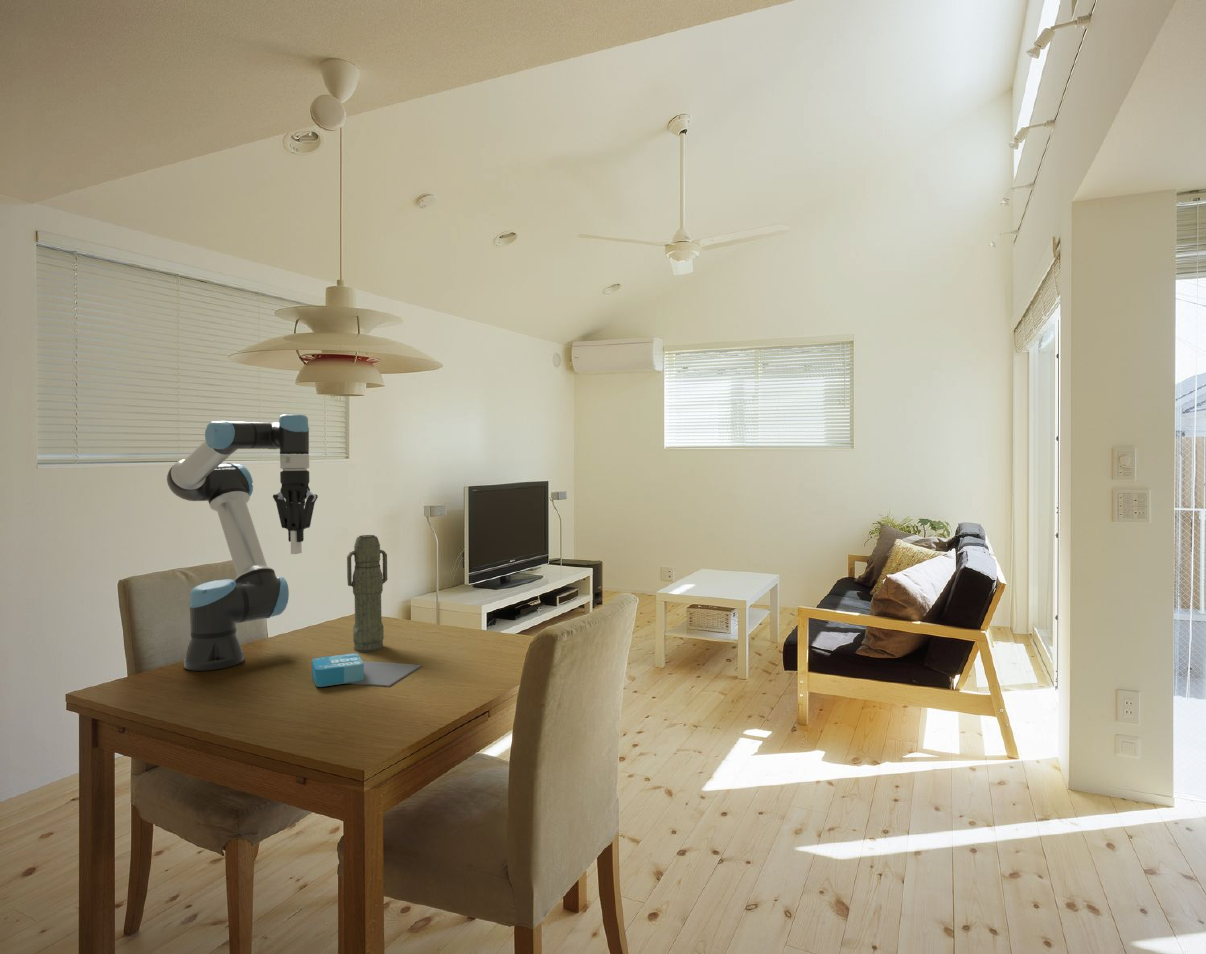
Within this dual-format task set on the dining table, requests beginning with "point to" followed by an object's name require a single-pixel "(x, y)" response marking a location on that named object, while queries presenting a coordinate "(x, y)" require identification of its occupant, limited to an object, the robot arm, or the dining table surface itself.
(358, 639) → the thermos
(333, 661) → the blue flat block
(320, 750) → the dining table surface
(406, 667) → the mat
